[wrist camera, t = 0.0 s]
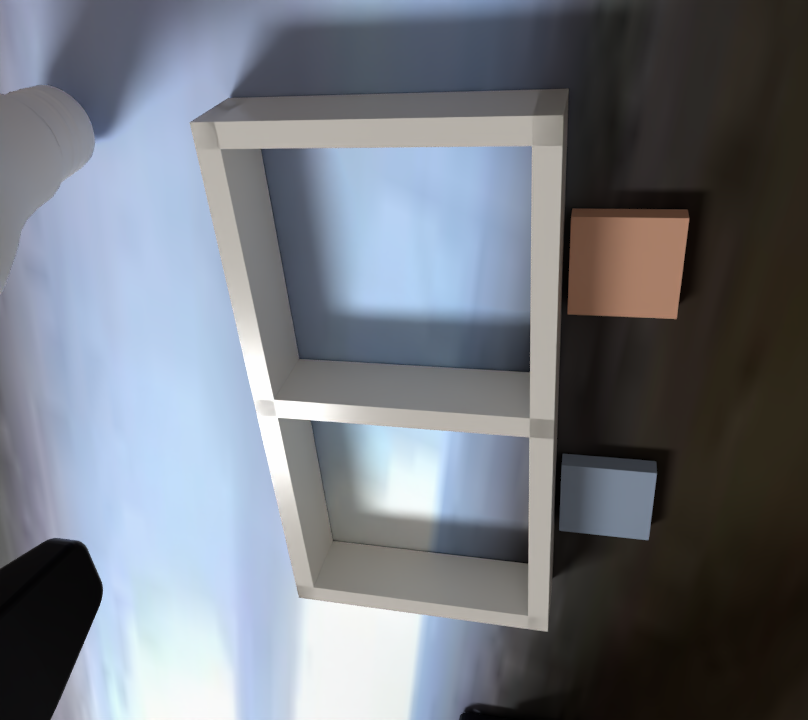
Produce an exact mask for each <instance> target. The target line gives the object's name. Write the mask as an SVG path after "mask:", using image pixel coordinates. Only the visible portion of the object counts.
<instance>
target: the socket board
mask: <svg viewBox="0 0 808 720" xmlns="http://www.w3.org/2000/svg"><path fill="white" fill-rule="evenodd" d="M568 99H569V89H540V90H503V91H466V92H429V93H392V94H355V95H318V96H281V97H244V98H227V99H226V100H224V101H223V102H221V103H220V104H218V105H216V106H215V107H213V108H212V109H210V110H208V111H207V112H205V113H204V114H202V115H201V116H199V117H197V118H196V119H194V120H193V121H191V122H190V126H191V130H192V135H193V139H194V143H195V148H196V152H197V156H198V161H199V165H200V169H201V174H202V178H203V182H204V187H205V191H206V195H207V200H208V204H209V208H210V213H211V217H212V221H213V226H214V230H215V234H216V239H217V243H218V248H219V252H220V256H221V261H222V265H223V269H224V274H225V278H226V282H227V287H228V291H229V295H230V300H231V304H232V308H233V313H234V317H235V321H236V326H237V330H238V334H239V339H240V343H241V347H242V352H243V356H244V360H245V365H246V369H247V373H248V378H249V382H250V387H251V391H252V395H253V400H254V404H255V408H256V413H257V417H258V421H259V426H260V430H261V434H262V439H263V443H264V447H265V452H266V456H267V460H268V465H269V469H270V473H271V478H272V482H273V486H274V491H275V495H276V499H277V504H278V508H279V513H280V517H281V521H282V526H283V530H284V534H285V539H286V543H287V547H288V552H289V556H290V560H291V565H292V569H293V573H294V578H295V582H296V586H297V591H298V595H299V598H306V599H313V600H320V601H328V602H335V603H342V604H350V605H357V606H364V607H371V608H379V609H386V610H393V611H401V612H408V613H415V614H423V615H430V616H437V617H445V618H452V619H459V620H466V621H474V622H481V623H488V624H496V625H503V626H510V627H518V628H525V629H532V630H539V631H547V632H548V623H549V612H550V601H551V589H552V576H553V546H554V517H555V487H556V457H557V427H558V397H559V368H560V338H561V308H562V278H563V248H564V219H565V189H566V159H567V129H568ZM479 146H532V215H531V328H530V372H515V371H498V370H481V369H464V368H447V367H430V366H413V365H396V364H379V363H362V362H345V361H328V360H311V359H299V354H298V348H297V343H296V338H295V332H294V327H293V321H292V316H291V310H290V305H289V299H288V294H287V289H286V283H285V278H284V272H283V267H282V261H281V256H280V251H279V245H278V240H277V234H276V229H275V223H274V218H273V213H272V207H271V202H270V196H269V191H268V185H267V180H266V174H265V169H264V164H263V158H262V153H261V149H279V148H379V147H479ZM688 225H689V214H688V209H575V208H572V215H571V235H570V261H569V287H568V313H567V314H571V315H595V316H620V317H644V318H669V319H677V312H678V304H679V296H680V288H681V281H682V273H683V265H684V257H685V249H686V241H687V233H688ZM311 420H315V421H328V422H341V423H353V424H366V425H379V426H392V427H404V428H417V429H430V430H442V431H455V432H468V433H481V434H493V435H506V436H519V437H530V441H529V554H528V564H527V563H518V562H510V561H501V560H492V559H484V558H475V557H467V556H458V555H450V554H441V553H433V552H424V551H416V550H407V549H398V548H390V547H381V546H373V545H364V544H356V543H347V542H339V541H333V539H332V533H331V528H330V522H329V517H328V511H327V506H326V501H325V495H324V490H323V484H322V479H321V473H320V468H319V463H318V457H317V452H316V446H315V441H314V435H313V430H312V424H311ZM656 477H657V465H656V461H647V460H635V459H623V458H611V457H599V456H586V455H574V454H563V456H562V469H561V495H560V521H559V531H567V532H576V533H586V534H595V535H604V536H614V537H623V538H633V539H642V540H649V533H650V525H651V517H652V509H653V501H654V493H655V485H656Z"/></svg>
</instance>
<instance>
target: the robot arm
mask: <svg viewBox="0 0 808 720" xmlns="http://www.w3.org/2000/svg"><path fill="white" fill-rule="evenodd" d="M102 595H103V586H102V582H101V579H100V577H99V574H98V572H97V570H96V568H95V565H94V563H93V561H92V558H91V556H90V554H89V551H88V549H87V547H86V546H85V545H84V544H83V543H82V542H80V541H77V540H69V539H61V538H53V539H49V540H47V541H45V542H43V543H41V544H40V545H38V546H36V547H35V548H33V549H31V550H30V551H28V552H27V553H25V554H23V555H22V556H20V557H18V558H17V559H15V560H14V561H12V562H10V563H9V564H7V565H5V566H4V567H2V568H1V569H0V720H51V718H52V716H53V713H54V711H55V709H56V707H57V705H58V702H59V700H60V698H61V696H62V693H63V691H64V689H65V686H66V684H67V682H68V679H69V677H70V675H71V672H72V670H73V667H74V665H75V663H76V660H77V658H78V656H79V653H80V651H81V649H82V646H83V644H84V641H85V639H86V637H87V634H88V632H89V630H90V627H91V625H92V623H93V620H94V618H95V616H96V613H97V611H98V608H99V606H100V603H101V600H102ZM459 720H512V719H506V718H500V717H493V716H487V715H481V714H475V713H467V712H466V713H462V714H461V715H460V718H459Z"/></svg>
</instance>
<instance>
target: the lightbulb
mask: <svg viewBox="0 0 808 720" xmlns="http://www.w3.org/2000/svg"><path fill="white" fill-rule="evenodd" d="M94 146H95V138H94V131H93V127H92V124H91V122H90V119H89V117H88V115H87V114H86V112H85V110H84V109H83V108H82V107H81V105H80V104H79V103H78V102H77V101H76V100H75V99H74V98H73V97H71V96H70V95H69V94H67V93H66V92H64V91H63V90H60V89H58V88H56V87H53V86H49V85H37V86H33V87H29V88H23V89H19V90H17V91H13V92H9V93H7V94H1V93H0V294H1V293H2V291H3V290H4V288H5V285H6V282H7V279H8V276H9V273H10V270H11V268H12V265H13V262H14V259H15V256H16V253H17V250H18V246H19V241H20V236H21V231H22V229H23V227H24V225H25V223H26V221H27V220H28V219H29V218H30V217H31V216H32V214H33V213H34V212H35V211H36V210H37V209H38V208H39V207H41V206H42V205H43V204H45V203H46V202H47V201H49V200H50V199H51V198H52V197H53V196H54V195H55V193H56V192H57V190H58V189H59V187H60V185H61V183H62V182H63V181H64V180H65V179H67V178H68V177H70V176H71V175H72V174H74V173H75V172H77V171H78V170H79V169H81V168H82V167H83V166H84V165H85V164H86V163H87V162H88V161H89V160H90V158H91V157H92V154H93V151H94Z"/></svg>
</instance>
